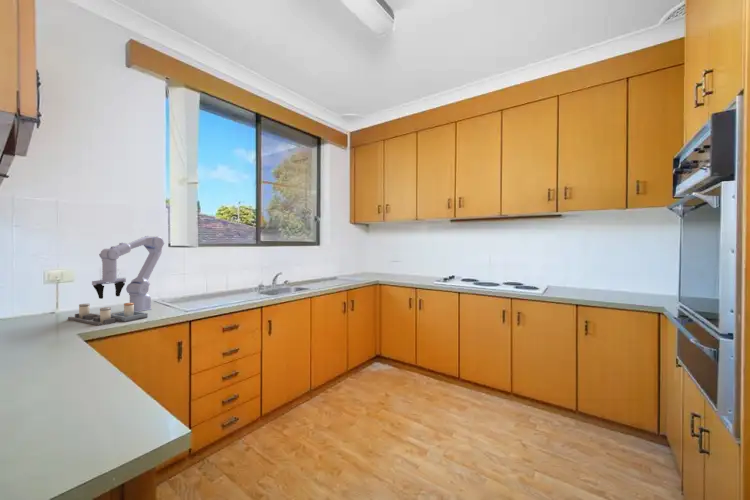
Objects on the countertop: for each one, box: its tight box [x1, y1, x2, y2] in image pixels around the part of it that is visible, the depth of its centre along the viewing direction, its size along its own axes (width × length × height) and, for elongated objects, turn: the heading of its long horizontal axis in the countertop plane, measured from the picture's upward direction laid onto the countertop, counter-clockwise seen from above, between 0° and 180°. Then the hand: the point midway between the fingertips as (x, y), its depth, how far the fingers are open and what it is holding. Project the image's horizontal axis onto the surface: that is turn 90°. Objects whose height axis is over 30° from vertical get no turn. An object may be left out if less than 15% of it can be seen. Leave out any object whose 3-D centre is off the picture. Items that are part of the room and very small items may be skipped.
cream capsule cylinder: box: [78, 303, 91, 319], centre depth 165 cm, size 4×4×7 cm
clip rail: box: [67, 312, 122, 327], centre depth 161 cm, size 10×26×2 cm, turn 67°
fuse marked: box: [123, 302, 134, 317], centre depth 167 cm, size 4×4×7 cm
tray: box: [111, 311, 149, 323], centre depth 167 cm, size 11×13×2 cm
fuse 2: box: [99, 306, 112, 324], centre depth 158 cm, size 4×4×7 cm
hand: (109, 297), depth 170 cm, fingers open, 7 cm apart
